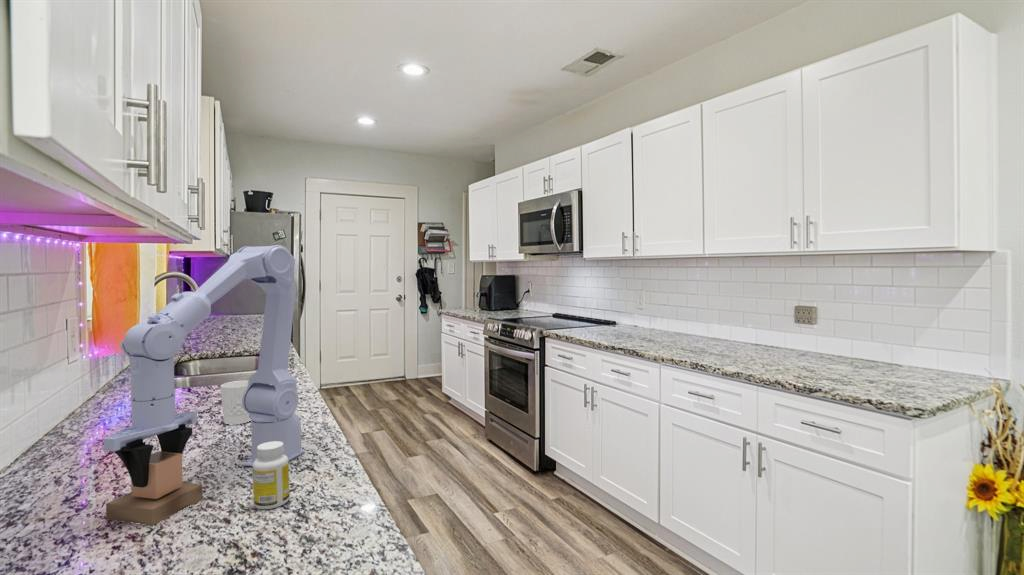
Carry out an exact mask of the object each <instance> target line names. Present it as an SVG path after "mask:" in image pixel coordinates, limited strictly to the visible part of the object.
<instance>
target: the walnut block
mask: <svg viewBox="0 0 1024 575" xmlns="http://www.w3.org/2000/svg"><path fill="white" fill-rule="evenodd" d="M200 501H203V484H202V483H201V484H200V483H194V482H193V483H192V482H184V481H183V486H181V487H179V488H177V489H175V490H173V491H171V492H169V493H167V494H165V495H164V496H162V497H160V498H158V499H152V498H143V497H135V496H131V492H129V493H126V494H124V495H122V496H119V497H118V498H115V499H113V500H110V501H108V502H106V503H105V511H106V512H105V513H106V520H107V519H109V520H108V521H112V520H116V521H115V522H119V521H124V522H123V523H126V522H133V523H140V524H146V525H145V526H147V525H150V526H149V527H153V525H154V526H156V525H157V523H158V524H159V522H160V521H161V522H163V521H165V520H167V519H168V518H167V517H169V516H171V515H173V514H175V513H176V514H178V513H179V512H178V511H180V510H182V511H184V510H185V509H184V508H186V507H188V506H189V507H191V506H193V505H195V504H197V503H199V502H200ZM190 505H191V506H190ZM189 507H188V508H189ZM183 509H184V510H183ZM186 509H187V508H186ZM177 512H178V513H177ZM180 512H181V511H180ZM176 514H175V515H176ZM173 516H174V515H173ZM171 517H172V516H171ZM166 518H167V519H166ZM169 518H170V517H169ZM164 519H165V520H164ZM162 520H163V521H162ZM161 522H160V523H161ZM133 523H132V524H133ZM140 524H139V525H140ZM155 524H156V525H155Z"/></svg>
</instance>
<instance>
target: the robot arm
mask: <svg viewBox="0 0 1024 575" xmlns="http://www.w3.org/2000/svg"><path fill="white" fill-rule="evenodd" d="M295 265H296V258H295V257H294V256H293V255H292V253H291V252H290V251H289V249H288V248H286V247H285V246H283V245H282V244H281V245H280V244H274V245H267V246H263V245H262V246H251V245H250V246H249V245H247V246H245V245H244V246H243V247H242V246H241V247H240V248H239V249H238V250H237V251H236V252H234V253H232V254H231V255H230V256H229V257H228V260H227V262H225V263H224V264H223V265H222V266H221V267H220V268H219V269H217V271H216V272H215V273H213V275H211V276H210V277H209V278H208V279H207V280H206V281H205V282H203V283H202V284H201V285H200V286H199V287H198V288H197V289H196V290H195V291H183V292H181V293H178V292H177V293H174V294H173V295H172V296H171V297H170V300H171V301H170V302H169V303H168V304H167V305H165V306H163V308H161V309H160V310H159V311H158V312H156V313H151V314H150V315H149V316H148V317H147V319H148V320H147V322H146V323H145V322H141V323H138V324H134V326H133V325H132V327H131V328H129V329H128V330H127V332H126V333H125V336H124V337H123V341H121V342H119V344H120V349H121V350H122V352H123V353H124V354H125V355H126V356H127V357H128V361H129V366H130V367H129V370H130V395H131V396H130V397H131V399H130V400H131V404H130V405H131V425H130V426H128V427H126V428H124V429H121V430H120V431H118V432H116V433H114V434H111V435H109V436H105V437H103V451H104V452H105V451H106V452H113V453H115V454H116V455H117V456H118V457H119V459H120V460H121V461H122V463H123V465H124V466H125V468H126V470H127V472H128V475H129V477H130V481H131V480H132V483H133V486H134V487H142V488H143V487H146V486H147V484H148V478H149V461H150V456H151V454H152V453H153V449H154V445H153V444H147V443H146V441H144V440H147V439H149V438H152V437H156V436H157V440H158V443H159V448H160V451H161V452H171V453H182V454H183V453H184V450H185V447H186V445H187V443H188V441H189V440H190V438H191V436H192V435H193V428H192V427H188V426H187V425H194V424H197V423H198V411H189V410H188V411H184V412H179V413H176V395H175V357H174V356H175V355H176V354H179V353H180V351H181V349H182V346H183V342H184V339H185V338H186V337H187V336H188V335H189V334H190V333H191V332H192V331H194V330H195V329H196V328H197V327H198V326H199V325H200V324H201V323H202V322H204V321H205V320H206V319H207V318H209V316H210V315H211V313H212V312H211V311H212V305H213V304H214V303H215V302H217V301H218V300H219V299H221V298H222V297H224V296H225V295H226V294H227V293H228V292H229V291H231V290H232V289H234V288H235V287H236V286H238V284H240V283H242V282H243V281H244V280H249V281H251V282H252V283H254V284H256V285H257V286H258V287H259V288H260V289H261V290H262V291H263V292H264V293H265V294H266V296H265V306H264V312H263V313H264V315H263V322H262V323H263V324H262V331H261V340H260V350H259V360H258V366H257V370H256V371H255V372H254V373H253V374H252V375H251V376H249V378H248V380H249V381H248V386H247V389H246V391H245V392H244V395H243V398H242V405H243V408H244V409H245V411H246V412H248V413H249V418H251V422H250V424H251V427H250V428H251V430H250V431H251V457H250V458H249V459H246V460H245V461H243V462H241V466H246V467H253V463H254V461H255V460H256V459H257V458H259V457H258V456H257V447H258V446H259V445H260V444H263V443H266V442H272V441H280V442H283V447H284V450H283V453H282V454H284V455H286V456H287V457H288V462H289V461H291V460H293V459H295V458H297V457H299V456H300V455H302V454H304V453H305V452H306V450H305V449H302V422H301V420H300V418H299V416H298V415H297V413H295V411H296V410H297V408H298V406H299V401H300V400H299V394H298V389H297V382H298V381H297V380H296V378H295V377H294V376H293V375H292V373H291V372H289V369H288V368H289V362H290V361H289V359H290V350H291V340H292V331H293V330H292V329H293V322H294V321H293V320H294V311H295V310H294V309H295V302H296V294H297V293H296V291H297V284H296V278H295V274H294V273H295Z"/></svg>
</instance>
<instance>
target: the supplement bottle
mask: <svg viewBox="0 0 1024 575" xmlns="http://www.w3.org/2000/svg"><path fill="white" fill-rule="evenodd" d="M283 450H284V447H283V442H280V441H272V442H266V443H263V444H260V445H259V446H258V447H257V456H258V457H259V458H257V459H256V460H255V461H254V463H253V466H252V478H253V479H252V482H253V485H252V486H253V489H252V490H253V505H254V507H255V508H256V509H259V510H271V509H275V508H278V507H280V506H282V505H286V503H287V502H288V501H289V500H290V469H289V468H290V467H289V466H290V465H289V463H290V462H289V461H288V457H287V456H286V455H284V454H282V453H283Z"/></svg>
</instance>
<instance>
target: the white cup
mask: <svg viewBox="0 0 1024 575" xmlns="http://www.w3.org/2000/svg"><path fill="white" fill-rule="evenodd" d="M248 381H249V379H248V380H247V379H246V380H235V381H228V382H225V383H222V384H221V385H220V395H221V398H220V399H221V407H222V414H223V424H224V423H225V424H240V423H245V422H249V421H251V418H249V413H248V412H246V411H245V409H244V408H243V405H242V398H243V395H244V392H245V391H246V389H247V386H248ZM249 423H250V422H249ZM225 424H224V425H225Z"/></svg>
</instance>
